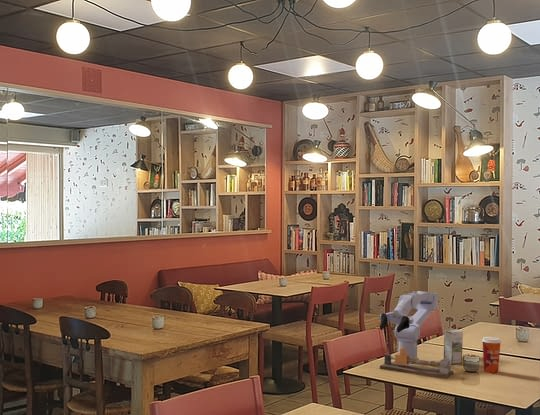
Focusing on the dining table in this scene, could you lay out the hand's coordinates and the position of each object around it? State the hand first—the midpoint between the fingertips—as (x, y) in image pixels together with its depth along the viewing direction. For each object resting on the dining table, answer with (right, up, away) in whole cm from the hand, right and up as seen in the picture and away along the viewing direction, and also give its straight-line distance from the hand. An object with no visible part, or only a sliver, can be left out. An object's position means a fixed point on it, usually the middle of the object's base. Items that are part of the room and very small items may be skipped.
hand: (389, 329), depth 271 cm
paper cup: (+42, -18, 0) cm, 46 cm away
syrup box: (+31, -18, +15) cm, 39 cm away
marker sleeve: (+6, -15, +1) cm, 16 cm away
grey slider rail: (+11, -17, -2) cm, 20 cm away
